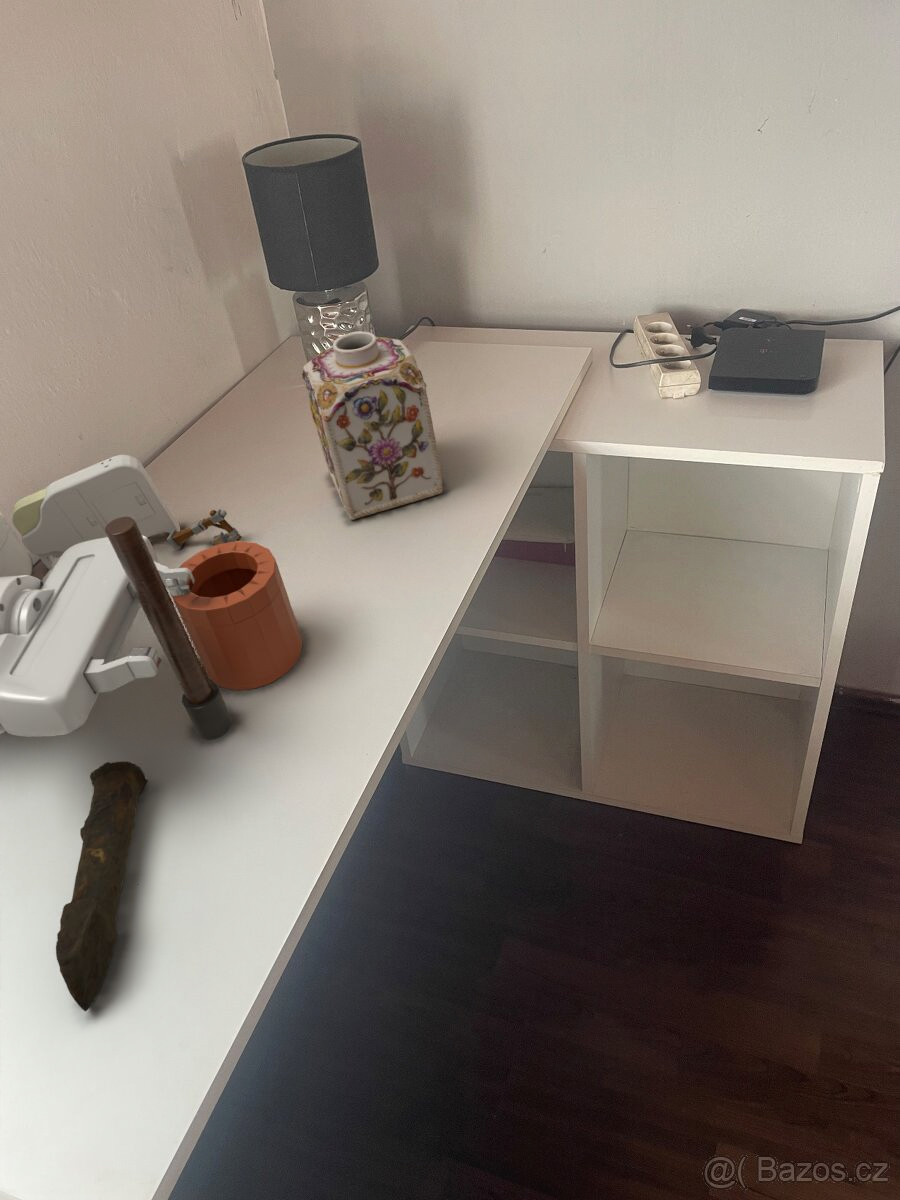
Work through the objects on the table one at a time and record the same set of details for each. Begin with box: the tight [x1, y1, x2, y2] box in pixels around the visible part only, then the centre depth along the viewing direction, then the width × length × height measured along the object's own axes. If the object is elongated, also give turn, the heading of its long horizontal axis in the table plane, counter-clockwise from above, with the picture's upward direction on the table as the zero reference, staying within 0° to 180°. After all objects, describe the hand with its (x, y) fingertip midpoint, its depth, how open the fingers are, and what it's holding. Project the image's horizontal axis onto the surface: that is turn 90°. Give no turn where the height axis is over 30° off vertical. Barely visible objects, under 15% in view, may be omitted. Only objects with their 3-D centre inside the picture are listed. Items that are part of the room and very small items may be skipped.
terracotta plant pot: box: [171, 540, 303, 691], centre depth 80 cm, size 9×9×10 cm
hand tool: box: [55, 760, 149, 1012], centre depth 64 cm, size 19×4×5 cm, turn 6°
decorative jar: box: [301, 331, 443, 521], centre depth 97 cm, size 12×12×18 cm
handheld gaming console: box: [11, 454, 181, 570], centre depth 96 cm, size 11×3×15 cm
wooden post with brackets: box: [166, 508, 243, 551], centre depth 97 cm, size 2×8×4 cm, turn 84°
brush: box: [105, 517, 233, 740], centre depth 69 cm, size 3×3×22 cm
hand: (174, 619), depth 69 cm, fingers open, 8 cm apart
